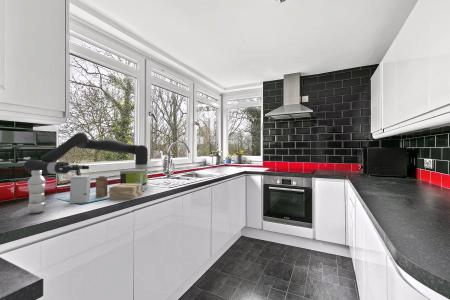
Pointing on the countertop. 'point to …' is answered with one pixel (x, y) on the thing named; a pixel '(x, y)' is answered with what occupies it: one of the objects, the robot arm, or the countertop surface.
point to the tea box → (133, 177)
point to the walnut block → (101, 186)
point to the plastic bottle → (36, 192)
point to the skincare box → (80, 189)
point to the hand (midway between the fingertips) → (84, 168)
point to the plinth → (125, 191)
